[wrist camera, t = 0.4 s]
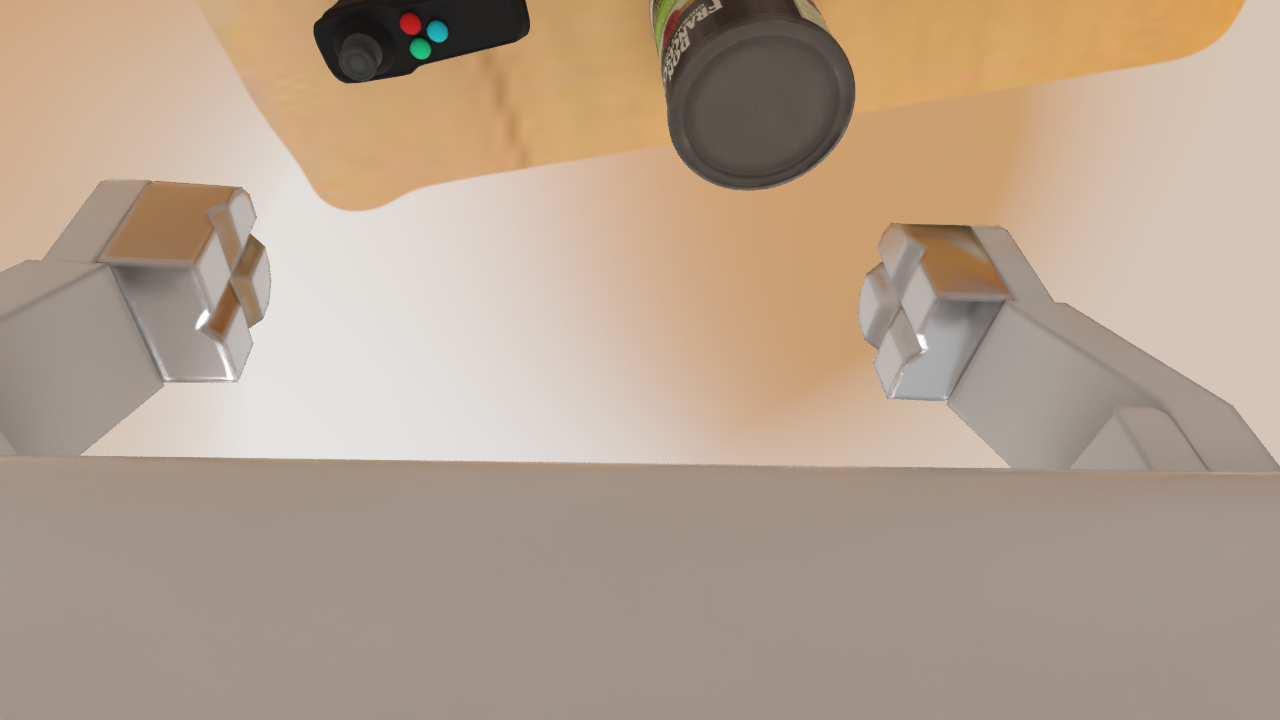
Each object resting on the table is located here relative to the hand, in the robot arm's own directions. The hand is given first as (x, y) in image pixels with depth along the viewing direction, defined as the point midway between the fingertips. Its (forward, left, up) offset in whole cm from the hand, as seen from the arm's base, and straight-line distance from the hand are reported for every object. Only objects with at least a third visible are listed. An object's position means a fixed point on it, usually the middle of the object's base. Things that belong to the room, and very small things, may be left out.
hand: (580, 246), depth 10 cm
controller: (+14, -8, -46) cm, 48 cm away
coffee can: (+14, +11, -46) cm, 49 cm away
